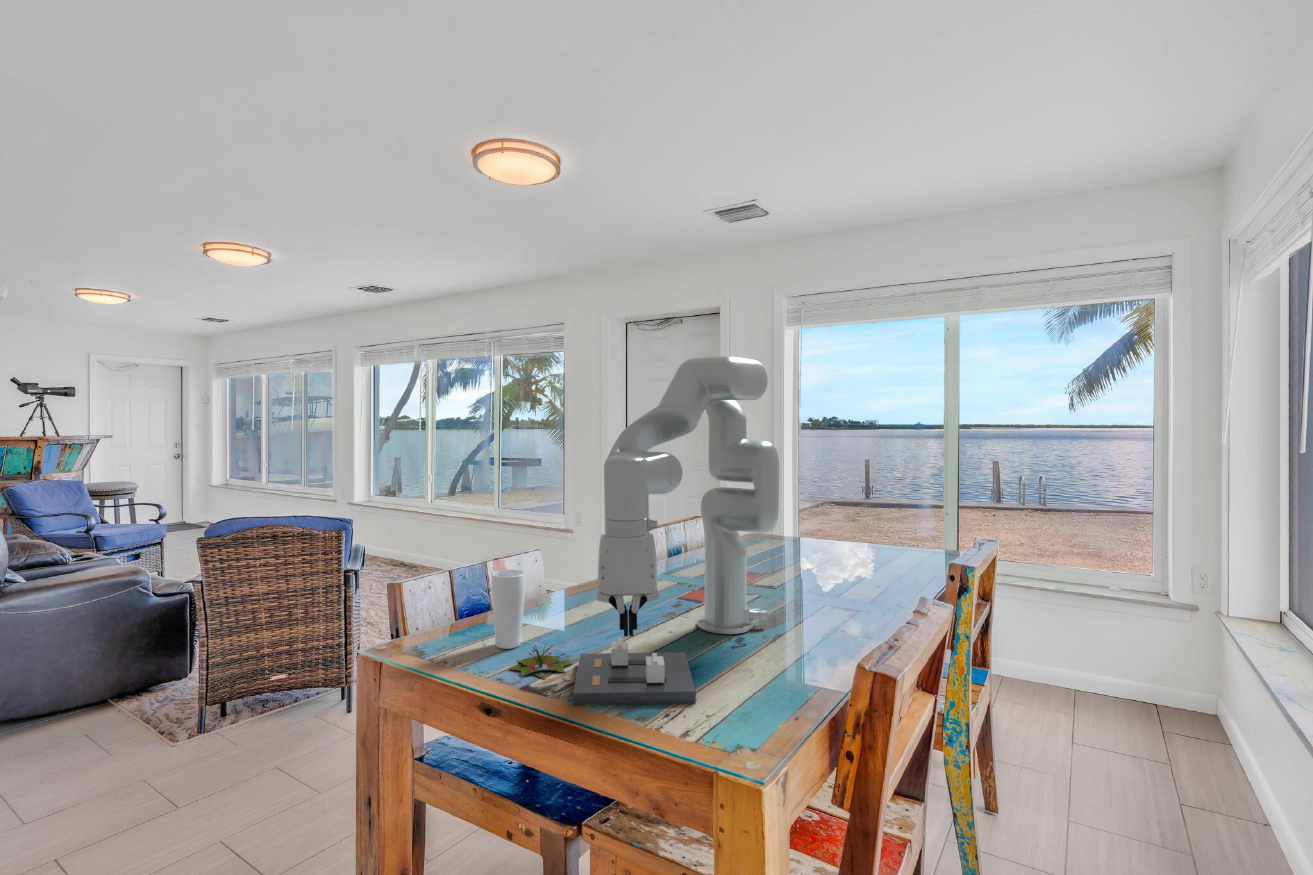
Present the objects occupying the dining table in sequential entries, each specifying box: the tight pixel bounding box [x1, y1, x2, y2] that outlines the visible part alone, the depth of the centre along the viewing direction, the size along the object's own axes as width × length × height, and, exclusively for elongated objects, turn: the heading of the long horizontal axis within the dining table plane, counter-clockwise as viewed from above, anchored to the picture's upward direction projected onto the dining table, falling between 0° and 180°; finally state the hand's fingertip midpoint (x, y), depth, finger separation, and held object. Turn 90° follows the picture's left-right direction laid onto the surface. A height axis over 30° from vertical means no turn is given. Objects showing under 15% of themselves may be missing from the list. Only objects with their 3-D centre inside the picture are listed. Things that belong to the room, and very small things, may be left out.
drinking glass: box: [491, 569, 526, 650], centre depth 131 cm, size 7×7×15 cm
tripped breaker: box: [646, 652, 665, 683], centre depth 109 cm, size 3×4×4 cm
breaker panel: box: [572, 651, 697, 707], centre depth 113 cm, size 20×18×2 cm
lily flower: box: [507, 644, 575, 680], centre depth 120 cm, size 12×12×5 cm
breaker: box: [610, 637, 629, 666], centre depth 117 cm, size 3×4×4 cm
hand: (628, 633), depth 109 cm, fingers closed
